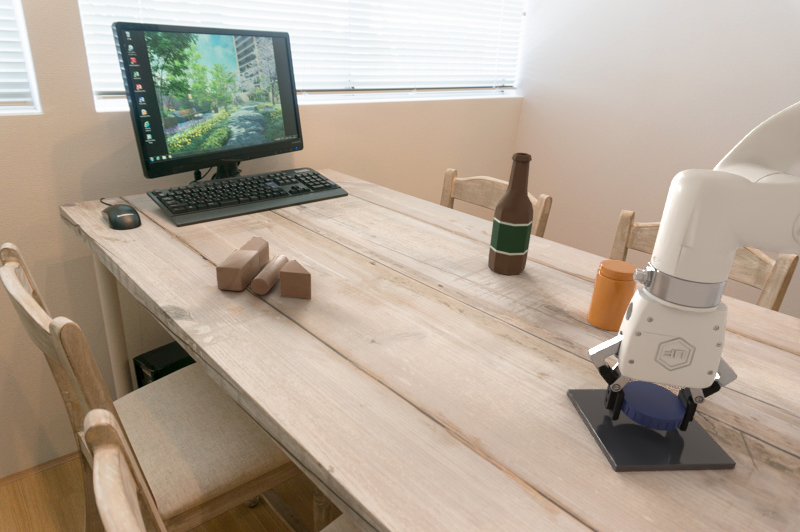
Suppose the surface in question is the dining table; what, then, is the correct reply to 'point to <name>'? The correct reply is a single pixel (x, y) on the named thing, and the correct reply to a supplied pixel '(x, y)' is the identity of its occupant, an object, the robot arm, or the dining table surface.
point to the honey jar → (611, 294)
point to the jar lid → (652, 406)
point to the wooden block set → (247, 265)
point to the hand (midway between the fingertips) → (645, 417)
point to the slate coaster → (647, 440)
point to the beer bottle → (512, 222)
